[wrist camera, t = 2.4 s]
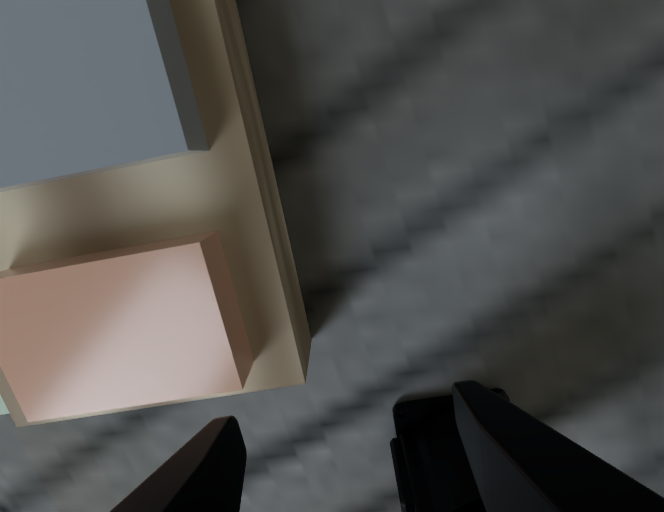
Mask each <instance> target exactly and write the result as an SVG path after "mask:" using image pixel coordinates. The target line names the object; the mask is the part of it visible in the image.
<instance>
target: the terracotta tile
mask: <svg viewBox="0 0 664 512" xmlns="http://www.w3.org/2000/svg"><path fill="white" fill-rule="evenodd" d="M253 363H254V359H253V355H252V352H251V348H250V344H249V341H248V337H247V334H246V330H245V326H244V323H243V319H242V316H241V312H240V308H239V305H238V301H237V297H236V294H235V290H234V287H233V283H232V279H231V276H230V272H229V269H228V265H227V261H226V258H225V254H224V250H223V247H222V243H221V240H220V236H219V232H218V230H217V231H211V232H206V233H200V234H195V235H189V236H184V237H178V238H173V239H168V240H162V241H157V242H151V243H146V244H140V245H135V246H129V247H124V248H118V249H113V250H107V251H102V252H97V253H91V254H86V255H80V256H75V257H69V258H64V259H58V260H53V261H47V262H42V263H36V264H31V265H25V266H20V267H15V268H9V269H6V270H3V271H0V367H1V369H2V371H3V373H4V375H5V377H6V379H7V381H8V383H9V385H10V387H11V389H12V391H13V393H14V395H15V397H16V399H17V401H18V403H19V405H20V407H21V409H22V411H23V413H24V415H25V417H26V419H27V421H28V422H34V421H41V420H47V419H54V418H61V417H67V416H74V415H80V414H87V413H94V412H100V411H107V410H113V409H120V408H126V407H133V406H140V405H146V404H153V403H159V402H166V401H172V400H179V399H186V398H192V397H199V396H205V395H212V394H219V393H225V392H232V391H238V390H243V388H244V385H245V383H246V380H247V378H248V375H249V373H250V370H251V368H252V366H253Z"/></svg>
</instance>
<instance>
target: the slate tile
mask: <svg viewBox="0 0 664 512" xmlns="http://www.w3.org/2000/svg"><path fill="white" fill-rule="evenodd" d="M205 151H209V147H208V143H207V140H206V136H205V132H204V128H203V125H202V121H201V117H200V113H199V110H198V106H197V102H196V98H195V95H194V91H193V87H192V83H191V80H190V76H189V72H188V69H187V65H186V61H185V57H184V54H183V50H182V46H181V42H180V39H179V35H178V31H177V27H176V24H175V20H174V16H173V12H172V9H171V5H170V1H169V0H0V192H4V191H9V190H14V189H19V188H24V187H29V186H34V185H39V184H44V183H49V182H54V181H59V180H64V179H69V178H74V177H79V176H84V175H89V174H94V173H99V172H104V171H109V170H115V169H120V168H125V167H130V166H135V165H140V164H145V163H150V162H155V161H160V160H165V159H170V158H175V157H180V156H185V155H190V154H195V153H200V152H205Z"/></svg>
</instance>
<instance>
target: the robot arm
mask: <svg viewBox="0 0 664 512" xmlns="http://www.w3.org/2000/svg"><path fill="white" fill-rule="evenodd" d="M452 392H453V395H449V396H442V397H436V398H429V399H422V400H415V401H408V402H401V403H397V404H396V405H394V407H393V417H394V423H395V429H396V435H397V438H392V440H391V441H390V447H391V453H392V458H393V464H394V470H395V476H396V481H397V487H398V493H399V498H400V504H401V510H402V512H664V498H663V497H662V496H660V495H659V494H657V493H655V492H654V491H652V490H650V489H649V488H647V487H646V486H644V485H642V484H641V483H639V482H638V481H636V480H634V479H633V478H631V477H630V476H628V475H626V474H625V473H623V472H622V471H620V470H618V469H617V468H615V467H613V466H612V465H610V464H609V463H607V462H605V461H604V460H602V459H601V458H599V457H597V456H596V455H594V454H593V453H591V452H589V451H588V450H586V449H585V448H583V447H581V446H580V445H578V444H577V443H575V442H573V441H572V440H570V439H568V438H567V437H565V436H564V435H562V434H560V433H559V432H557V431H556V430H554V429H552V428H551V427H549V426H548V425H546V424H544V423H543V422H541V421H540V420H538V419H536V418H535V417H533V416H531V415H530V414H528V413H527V412H525V411H523V410H522V409H520V408H519V407H517V406H515V405H514V404H512V403H511V402H509V397H508V395H507V394H506V392H505V391H504V390H502V389H491V390H490V389H488V388H486V387H485V386H483V385H482V384H480V383H478V382H477V381H475V380H466V381H460V382H455V383H454V384H453V386H452ZM400 411H405V412H404V413H402V414H400V413H399V412H400ZM246 459H247V454H246V447H245V444H244V440H243V437H242V434H241V431H240V427H239V424H238V421H237V419H236V418H235V417H234V416H225V417H218V418H215V419H213V420H212V421H211V422H209V423H208V424H207V425H206V426H205V427H204V428H203V429H202V430H201V431H199V432H198V433H197V434H196V435H195V436H194V437H193V438H192V439H190V440H189V441H188V442H187V443H186V444H185V445H184V446H183V447H182V448H180V449H179V450H178V451H177V452H176V453H175V454H174V455H173V456H171V457H170V458H169V459H168V460H167V461H166V462H165V463H164V464H163V465H161V466H160V467H159V468H158V469H157V470H156V471H155V472H154V473H152V474H151V475H150V476H149V477H148V478H147V479H146V480H145V481H144V482H142V483H141V484H140V485H139V486H138V487H137V488H136V489H135V490H133V491H132V492H131V493H130V494H129V495H128V496H127V497H126V498H124V499H123V500H122V501H121V502H120V503H119V504H118V505H117V506H116V507H114V508H113V509H112V510H111V511H110V512H239V510H240V503H241V496H242V489H243V482H244V474H245V467H246Z"/></svg>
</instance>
